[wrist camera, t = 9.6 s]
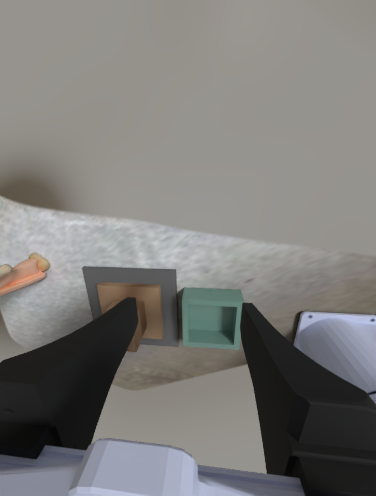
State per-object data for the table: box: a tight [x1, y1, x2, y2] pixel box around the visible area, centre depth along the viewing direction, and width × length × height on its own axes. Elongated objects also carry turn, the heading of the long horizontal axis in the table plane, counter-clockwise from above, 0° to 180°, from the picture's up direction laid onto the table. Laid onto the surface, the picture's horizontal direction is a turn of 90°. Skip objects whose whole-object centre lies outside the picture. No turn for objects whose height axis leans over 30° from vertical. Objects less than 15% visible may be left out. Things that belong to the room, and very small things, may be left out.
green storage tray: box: [182, 288, 244, 350], centre depth 24 cm, size 7×7×2 cm
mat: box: [82, 266, 179, 347], centre depth 26 cm, size 12×12×1 cm
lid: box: [97, 282, 164, 352], centre depth 23 cm, size 8×8×5 cm
